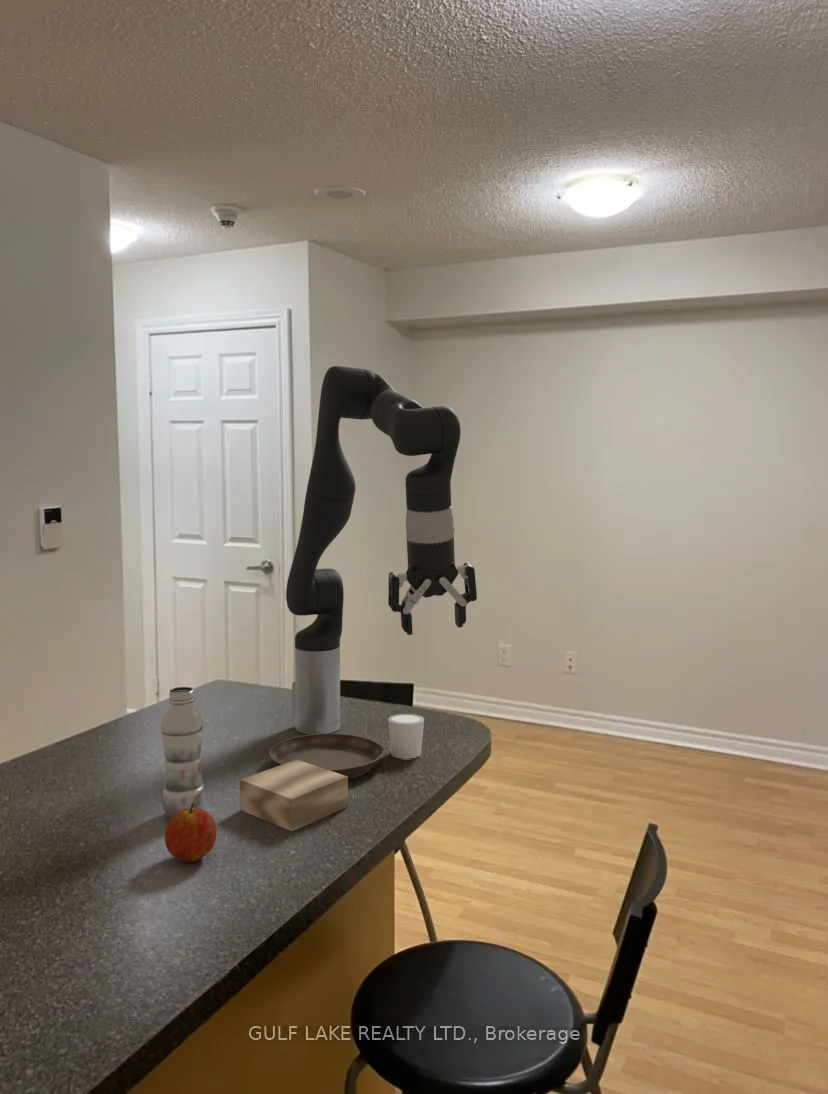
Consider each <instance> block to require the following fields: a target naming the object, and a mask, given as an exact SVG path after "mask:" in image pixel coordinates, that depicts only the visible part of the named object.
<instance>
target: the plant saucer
mask: <svg viewBox="0 0 828 1094" xmlns="http://www.w3.org/2000/svg"><path fill="white" fill-rule="evenodd" d="M384 751H385V750H384V748H383V746H382V745H381V744H380V743H378V742H377V741H376V740H373V739H370V738H367V737H363V736H358V735H354V734H345V733H327V734H305V735H300V736H295V737H290V738H288V739H285V740H282V741H280V742H278V743H277V744H274V745H273V746H272V747H271V748H270V750H269V754H268V755H269V757H270V760H271V761H272V762H273V764H274V765H275V767H277V766H280V765H283V764H286V763H288V762H291V761H294V760H300V761H303V762H306V763H309V764H312V765H315V766H318V767H321V768H324V769H327V770H330V771H333V772H336V773H339V774H342V775H345V776H348V780H350V779H355V778H358V777H361V776H362V775H364V774H367V773H369V772H370V770H372V769H373V768H374V767H375V766H376V765H377V764H378V763H379V761H380V760H381V759H382V757H383V755H384Z"/></svg>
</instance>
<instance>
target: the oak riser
mask: <svg viewBox="0 0 828 1094" xmlns="http://www.w3.org/2000/svg"><path fill="white" fill-rule="evenodd" d="M239 792H240V793H239V795H240V797H239V799H240V806H239V807H240V811H241V812H243V813H247V814H249V815H252V816H253V817H256V818H259V819H262V820H264V821H265V822H268V823H271V824H273V825H275V826H278V827H280V828H282V829H284V830H287V831H290V832H294V831H296V830H298V829H300V828H303V827H306V826H307V825H309V824H312V823H315V822H317V821H319V820H321V819H324V818H325V817H328V816H331V815H332V814H335V813H337V812H339V810H340V811H341V810H344V809H346V807H347V808H348V807H349V779H348V776H345V775H342V774H339V773H336V772H333V771H330V770H327V769H324V768H321V767H318V766H315V765H312V764H309V763H306V762H303V761H300V760H294V761H291V762H288V763H286V764H283V765H280V766H274V767H272V768H268V769H266V770H263V771H260V772H258V773H255V774H252V775H249V776H246V777H243V778H241V779H240V780H239Z"/></svg>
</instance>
